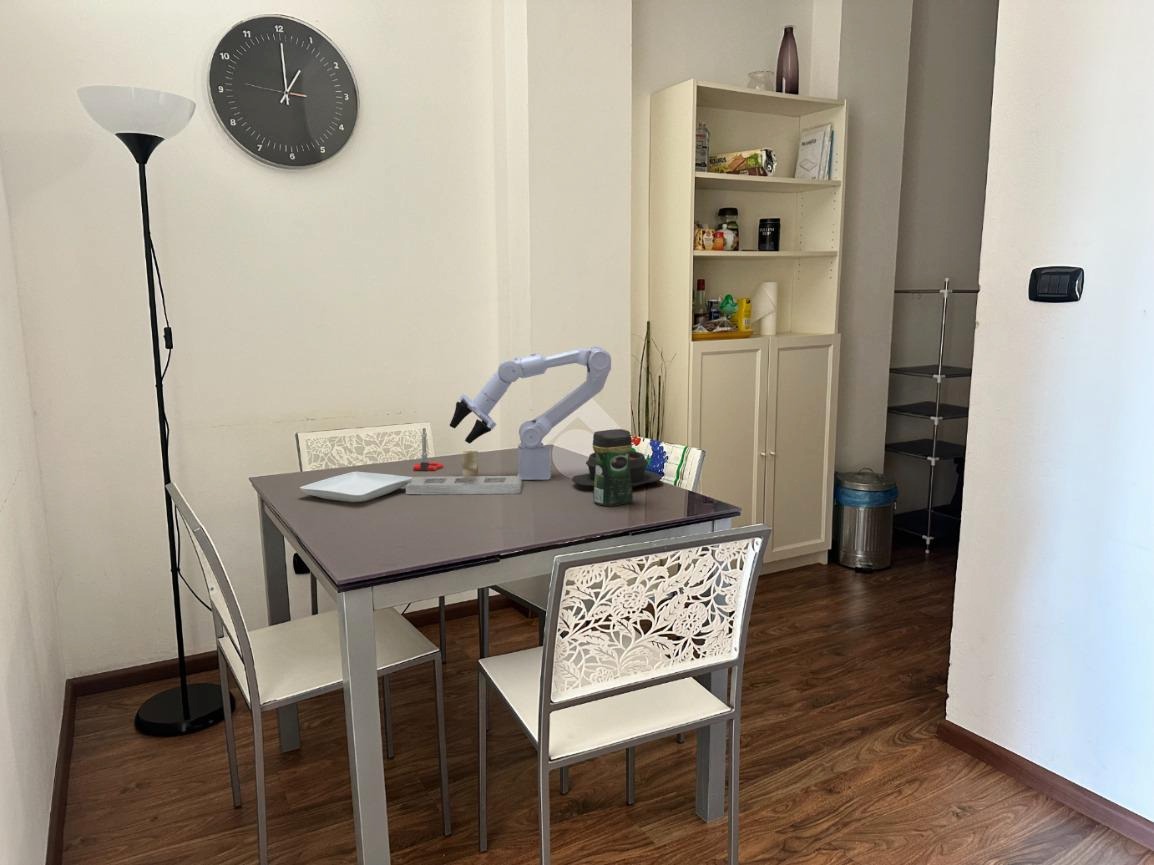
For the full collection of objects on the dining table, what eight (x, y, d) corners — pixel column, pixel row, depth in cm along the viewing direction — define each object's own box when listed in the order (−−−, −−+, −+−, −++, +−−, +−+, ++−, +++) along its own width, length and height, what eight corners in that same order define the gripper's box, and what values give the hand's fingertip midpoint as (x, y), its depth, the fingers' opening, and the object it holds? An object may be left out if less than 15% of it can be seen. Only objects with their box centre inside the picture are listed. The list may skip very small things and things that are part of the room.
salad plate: (297, 498, 213) (297, 486, 212) (355, 481, 231) (354, 469, 231) (360, 507, 203) (359, 494, 203) (414, 489, 222) (414, 476, 221)
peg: (478, 478, 234) (477, 451, 233) (476, 481, 230) (476, 453, 229) (464, 478, 234) (463, 451, 233) (462, 482, 230) (461, 454, 229)
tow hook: (419, 466, 254) (410, 471, 245) (418, 424, 252) (409, 428, 243) (446, 466, 253) (437, 471, 244) (445, 424, 251) (437, 428, 242)
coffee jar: (622, 496, 212) (622, 425, 209) (637, 503, 205) (637, 430, 202) (588, 501, 208) (587, 428, 205) (602, 508, 201) (602, 433, 198)
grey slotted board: (522, 484, 226) (522, 475, 226) (519, 493, 216) (519, 484, 216) (413, 485, 226) (413, 476, 226) (406, 494, 216) (405, 485, 216)
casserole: (582, 496, 213) (581, 464, 212) (564, 480, 231) (564, 451, 229) (672, 489, 219) (672, 458, 218) (648, 474, 237) (648, 446, 236)
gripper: (466, 378, 230) (436, 416, 231) (496, 406, 223) (466, 445, 224) (480, 386, 236) (451, 423, 237) (510, 414, 229) (480, 452, 230)
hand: (459, 434), depth 231 cm, fingers open, 7 cm apart
